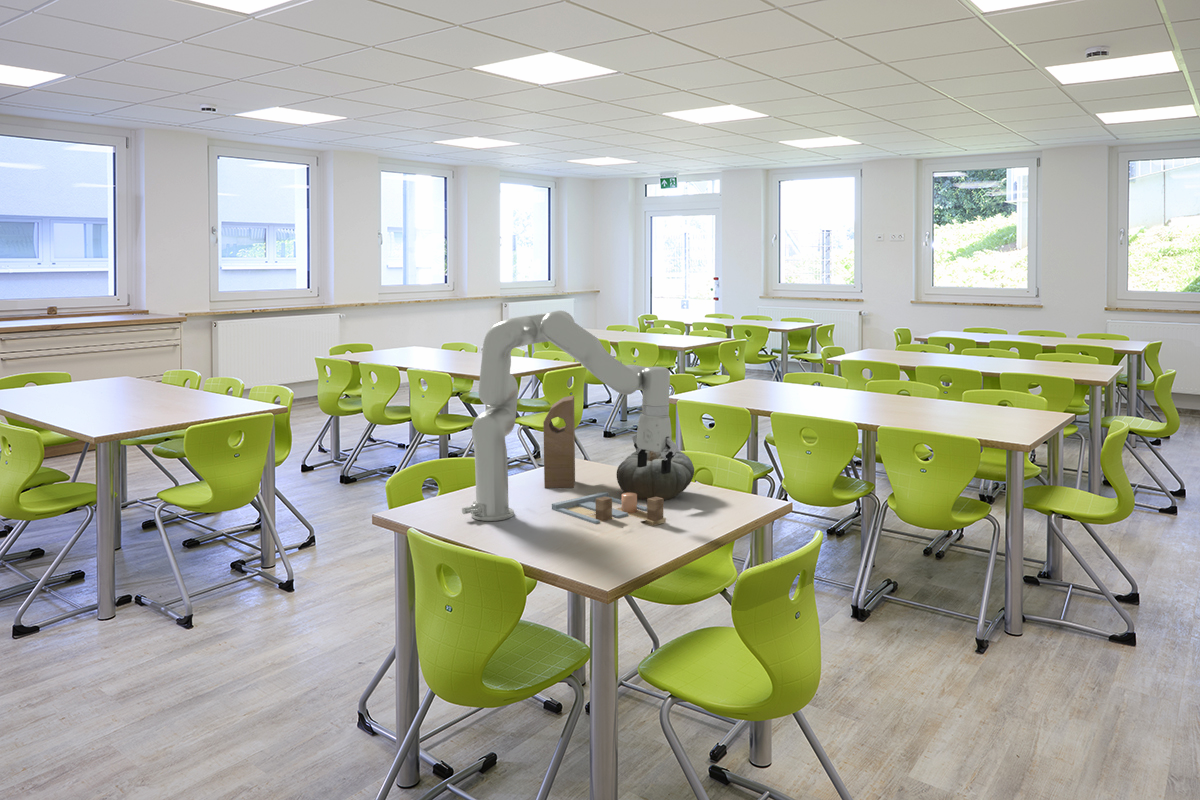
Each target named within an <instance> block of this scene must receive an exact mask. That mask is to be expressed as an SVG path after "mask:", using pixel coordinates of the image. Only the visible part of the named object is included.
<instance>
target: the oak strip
mask: <svg viewBox="0 0 1200 800" xmlns="http://www.w3.org/2000/svg"><path fill="white" fill-rule="evenodd" d="M664 501H665V500H664V499H663V498H660V497H652V498H648V499H646V507H647V511H642V510H638V509H637V512H635V513H628V516H632V517H635V518H638V519H641V520H643V521H640V523H642V524H645V525H648V526H651V527H653V526H658V525H660V524H663V523H666V520H667V519H666V517H664ZM616 509H617V510H620V511H622V506H621V507H618V508H616Z"/></svg>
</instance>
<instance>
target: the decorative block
mask: <svg viewBox="0 0 1200 800" xmlns="http://www.w3.org/2000/svg"><path fill="white" fill-rule="evenodd" d="M556 418H559V419H562V420H563V421H564V424H565V426H561V427H557V426H555V425H554V424H553V421H552V420H553V419H556ZM575 422H576V421H575V396H574V395H570V396H564V397H562V398H560V399H559V400H558V401H556V402H555V403H553V404H552V405H551V406H550V409H549V411H548V413H547V414H546V416H545V418H544V420H543V422H542V423H543V426H542V427H543V477H544V478H543V479H544V480H543V481H544V486H543V487H544V489H574V488H575V484H576V452H575V451H576V447H575V446H576V444H575V443H576V442H575V441H576V436H575V435H576V434H575V429H576V427H575V425H576V424H575Z"/></svg>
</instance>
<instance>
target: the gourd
mask: <svg viewBox="0 0 1200 800" xmlns="http://www.w3.org/2000/svg"><path fill="white" fill-rule="evenodd" d="M670 451H671V449H670ZM646 453H647V466H645V467H640V468H639V467H637V462H638V454H637V453H636V450H635V451H634V452H632V453H631V454H630V455H628V456H627V457H626V458H625V459H624V460H623V461H622V462H621V463H620V464H619V465H618V467H617V469H616V480H617V484H618V487H620V490H621V491H622V492H623V493H636V494H637V500H647V499H648V498H652V497H660V498H663V499H664V501H667V500H671V499H673V498H675V497H676V496H679V495H680V494H681V493H683V492H684V491H685V490H686V489H687V487H689V485H690V484H691V482H692V481H693V478H694V475H695V468H694V465H693V461H692V460H691V458H690V457H689V456H688V455H686V454H685V453H684V452H683V451H680V449H679V448H678V449H677V451H676V454H675V456H674V457H673V459H671V472H670V473H667V474H662V473H661V463H662V460H664V459H663V457H662V455H661V453H660V452H659V453H655V452H651V451H647V450H646ZM665 454H666V455H667V453H666V452H665Z"/></svg>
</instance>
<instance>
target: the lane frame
mask: <svg viewBox="0 0 1200 800" xmlns="http://www.w3.org/2000/svg"><path fill="white" fill-rule="evenodd" d="M600 497H609V498H612V503H615V504H619V505H622V499H620V498H617V497H613V496H610V493H609V492H607V491H602V492H597V493H592V494H589V495H585V496H581V497H580V496H579V497H575V498H572V499H567V500H562V501H559V502H555V503H551V510H552V511H554V512H558V513H562V514H565V515H567V516H570V517H573V518H577V519H579V520H582V521H586V522H588V523H591V524H595V525H596V524H600V523H601V522H600V520H598V519H594V518H591V517H588V516H589V515H593V514H596V498H600ZM637 510H640V511H643V512H647V506H643V505H640V504H637ZM628 516H629V515H628V513H626V512H623V511H620V510H617V508H613V507H612V518H613V519H620V518H624V517H628Z"/></svg>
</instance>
